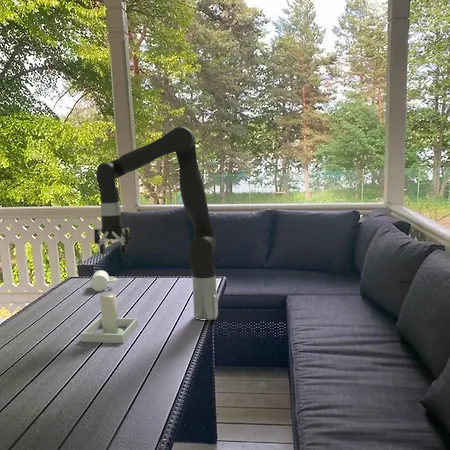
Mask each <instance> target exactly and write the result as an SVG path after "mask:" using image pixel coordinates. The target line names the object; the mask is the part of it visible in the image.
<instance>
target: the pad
mask: <svg viewBox="0 0 450 450" xmlns="http://www.w3.org/2000/svg"><path fill="white" fill-rule="evenodd" d="M118 331H119V332H118V333H117V334H122V333H123V332H124V330H123V328H120V327H118ZM98 333H103V329H102V330H100V331H99V332H98Z"/></svg>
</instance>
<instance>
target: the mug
mask: <svg viewBox="0 0 450 450" xmlns="http://www.w3.org/2000/svg"><path fill="white" fill-rule="evenodd" d="M117 281H118V279H117V277H116V276H109V274H108V272H107V271H106V270H102V269H101V270H100V269H99V270H97V271H95V272H94V274H93V275H92V277H91V281H90V287H91V288H92V290H94V291H96V292H102V291H104V290H106V289H107V287H108V285H109V284H111V283H115V282H117Z"/></svg>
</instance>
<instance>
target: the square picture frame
mask: <svg viewBox="0 0 450 450" xmlns="http://www.w3.org/2000/svg"><path fill="white" fill-rule="evenodd" d="M101 326H102V317H98V318H96V319H95V320H94V322H92V323H91V324H90V325H89V326H88V327H86V328H85V329H84V330H83V331H82V332H80V342H82V343H106V344H108V343H109V344H110V343H111V344H112V343H113V344H124V343H125V342H126V340H128V338H129V337H130V336H131V335H132V334H133V333H134V332H135V330H136V329H137V328H138V327H139V318H137V317H136V318H135V317H134V318H132V317H131V318H130V317H129V318H127V317H118V327H126V329H124V330H123V333H122V334H105V333H99V332H96V331H97V330H98V329H99V328H100V327H101Z"/></svg>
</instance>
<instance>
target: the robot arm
mask: <svg viewBox="0 0 450 450" xmlns="http://www.w3.org/2000/svg"><path fill="white" fill-rule="evenodd" d="M195 138H196V137H195V135H194V133H193V132H192V131H191V130H190V129H189V128H187V127H185V126H175V128H173V129H172V130H170V131H169V132H168V133H165V134H164V135H162V136H161V137H159V138H158V139H156V140H154V141H152V142H150V143H148V144H145V145H143V146H140V147H139V148H136V149H133V150H131V151H128V152H126V153H124V154H123V155H120V156H119V158H116V159H113V160H112V161H108V162H102V163H100V164H98V166H97V168H96V174H95V175H96V180H97V186H98V189H99V193H100V194H99V197H100V219H101V221H100V222H101V228H99V227H97V228H94V229H93V232H94V233H93V234H94V236H93V237H94V240H93V241H94V244H97V245H98V246H99V252H100V254H101V255H105V254H106V245H105V243H106V241H108V240H117V241H118V242H119V243H120V244H121V255H125V254H126V253H127V252H128V249H127V244H128V245H129V244H130V243H131V242H132V237H131V230H130V228H129V227H126V228H123V227H122V212H121V211H122V210H121V205H120V196H119V193H120V192H119V189H118V187H116V180H117V179H119V178H121V177H122V176H124V175H126V174H127V173H132V172H134V171H136V170H138V169H140V168H142V167H144V166H146V165H149V164H151V163H152V162H154V161H155V160H157V159H159V158H161V157H164V156H166V155H169V154H173V153H175V155H176V158H177V163H178V169H179V172H178V173H179V191H180V195H181V200H182V203H183V207H184V209H185V212H186V213H187V215H188V217H189V219H190V220H191V223H192V227H193V234H194V238H193V239H192V240H191V241H190V243H189V248H188V249H189V250H188V251H189V253H188V254H189V268H190V271H191V276H192V277H191V278H192V296H193V297H192V298H193V301H192V302H193V318H194V317H195V318H198V319H207V320H208V321H213V320H217V317H218V316H219V308H218V307H219V304H218V302H219V301H218V300H219V299H218V292H217V278H216V277H217V276H216V272H217V271H216V267H214V259H213V257H214V256H213V255H214V253H215V252H216V250H217V244H218V243H217V240H216V236H215V233H214V230H213V227H212V223H211V219H210V214H209V212H210V211H209V206H208V203H207V202H208V201H207V196H206V190H205V186H204V182H203V177H202V175H201V174H202V173H201V170H200V167H199V163H198V160H197V159H198V158H197V150H196V139H195ZM122 233H123V234H124V236H125V238H124V236H123V235H122ZM101 234H102V235H103V236H102V237H101ZM195 318H194V319H195Z"/></svg>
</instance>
